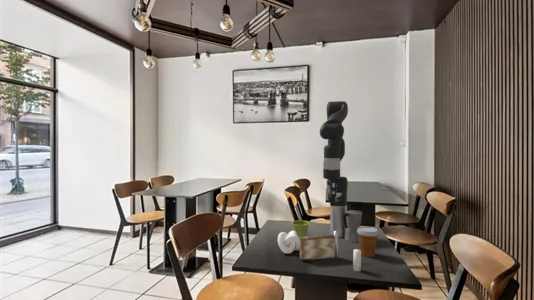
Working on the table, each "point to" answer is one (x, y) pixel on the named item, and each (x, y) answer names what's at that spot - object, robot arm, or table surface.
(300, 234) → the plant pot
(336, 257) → the translucent grey rod
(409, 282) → the table surface
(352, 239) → the coffeepot
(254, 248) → the table surface
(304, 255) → the brown flat block
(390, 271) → the table surface
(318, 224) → the table surface
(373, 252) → the disposable coffee cup
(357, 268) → the post
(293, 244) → the white decorative knot
